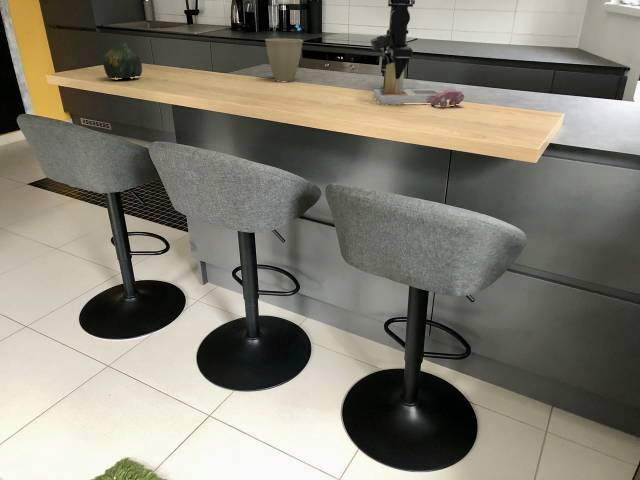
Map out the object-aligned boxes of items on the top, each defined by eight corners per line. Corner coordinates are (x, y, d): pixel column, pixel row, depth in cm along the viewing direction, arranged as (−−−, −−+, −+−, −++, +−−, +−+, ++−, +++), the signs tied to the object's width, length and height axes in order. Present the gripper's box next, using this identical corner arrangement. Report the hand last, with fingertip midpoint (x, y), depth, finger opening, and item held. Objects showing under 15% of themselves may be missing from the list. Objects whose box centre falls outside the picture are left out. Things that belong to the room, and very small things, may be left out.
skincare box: (390, 99, 178) (393, 62, 172) (402, 100, 176) (405, 63, 170) (382, 102, 173) (385, 64, 167) (394, 103, 171) (397, 65, 165)
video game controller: (433, 112, 166) (440, 94, 161) (428, 103, 169) (435, 85, 164) (460, 111, 169) (468, 93, 164) (455, 102, 172) (462, 84, 166)
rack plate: (373, 98, 179) (374, 88, 178) (434, 98, 181) (435, 88, 180) (380, 104, 169) (380, 94, 167) (445, 104, 171) (446, 94, 169)
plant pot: (301, 84, 205) (301, 41, 198) (264, 83, 205) (263, 40, 198) (303, 78, 218) (303, 38, 211) (268, 77, 219) (267, 37, 212)
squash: (89, 66, 202) (106, 36, 195) (113, 63, 216) (131, 35, 209) (115, 92, 204) (133, 64, 196) (138, 88, 217) (156, 61, 210)
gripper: (368, 24, 172) (365, 73, 179) (379, 28, 155) (375, 81, 162) (400, 24, 173) (397, 73, 180) (415, 28, 156) (410, 81, 163)
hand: (394, 77), depth 171 cm, fingers open, 8 cm apart
